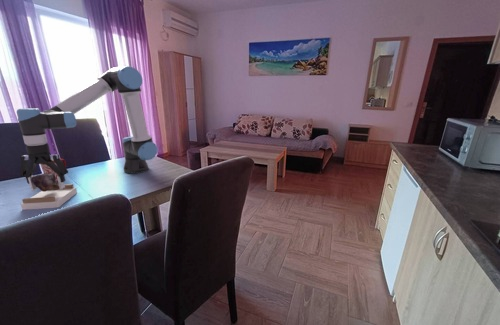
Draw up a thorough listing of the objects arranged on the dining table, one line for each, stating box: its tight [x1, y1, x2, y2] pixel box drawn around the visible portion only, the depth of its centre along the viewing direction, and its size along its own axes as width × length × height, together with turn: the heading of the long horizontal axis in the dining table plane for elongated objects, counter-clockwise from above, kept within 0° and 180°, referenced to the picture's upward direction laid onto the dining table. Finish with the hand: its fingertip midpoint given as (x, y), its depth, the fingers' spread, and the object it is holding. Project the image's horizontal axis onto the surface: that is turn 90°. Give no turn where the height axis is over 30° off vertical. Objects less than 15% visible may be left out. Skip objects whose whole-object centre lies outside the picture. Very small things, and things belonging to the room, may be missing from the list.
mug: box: [39, 158, 67, 183], centre depth 131 cm, size 13×9×14 cm
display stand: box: [20, 183, 78, 211], centre depth 107 cm, size 14×16×5 cm
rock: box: [31, 173, 60, 192], centre depth 105 cm, size 12×9×10 cm
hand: (48, 188), depth 106 cm, fingers closed on rock, 11 cm apart
